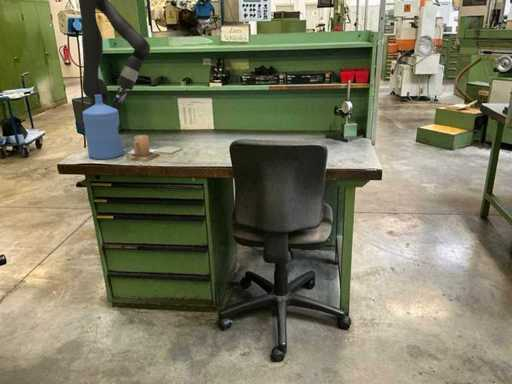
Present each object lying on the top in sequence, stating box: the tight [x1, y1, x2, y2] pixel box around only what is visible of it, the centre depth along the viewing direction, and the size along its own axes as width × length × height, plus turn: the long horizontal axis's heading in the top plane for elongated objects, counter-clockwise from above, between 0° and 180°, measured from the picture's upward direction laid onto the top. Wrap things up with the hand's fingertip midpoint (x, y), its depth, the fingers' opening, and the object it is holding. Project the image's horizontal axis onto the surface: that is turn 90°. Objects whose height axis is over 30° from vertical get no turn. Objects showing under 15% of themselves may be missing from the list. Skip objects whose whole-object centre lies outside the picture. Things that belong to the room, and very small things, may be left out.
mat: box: [152, 146, 183, 155], centre depth 202 cm, size 10×10×1 cm
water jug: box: [82, 94, 124, 160], centre depth 191 cm, size 16×16×28 cm
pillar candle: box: [132, 134, 151, 157], centre depth 189 cm, size 6×8×10 cm
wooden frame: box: [126, 151, 160, 163], centre depth 191 cm, size 10×10×2 cm
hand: (114, 109), depth 200 cm, fingers open, 8 cm apart
